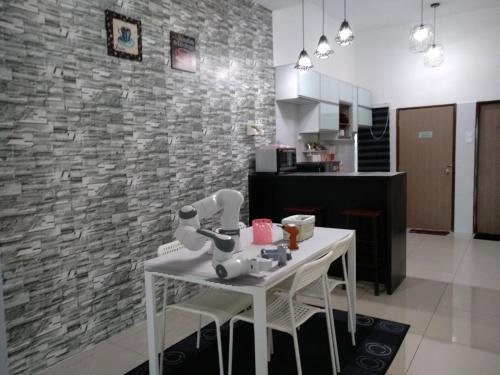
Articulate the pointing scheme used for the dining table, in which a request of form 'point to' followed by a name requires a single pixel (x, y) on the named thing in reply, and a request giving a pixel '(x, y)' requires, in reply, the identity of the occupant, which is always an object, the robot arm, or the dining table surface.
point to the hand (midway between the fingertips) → (265, 258)
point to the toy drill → (291, 236)
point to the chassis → (273, 254)
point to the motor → (281, 255)
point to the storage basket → (300, 226)
